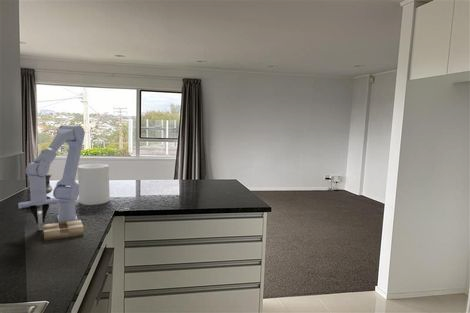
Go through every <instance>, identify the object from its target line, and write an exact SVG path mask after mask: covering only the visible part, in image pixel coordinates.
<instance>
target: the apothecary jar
mask: <svg viewBox="0 0 470 313" xmlns="http://www.w3.org/2000/svg"><path fill="white" fill-rule="evenodd" d="M26 176H27V178H28V175H27V174H26ZM45 177H46V194H47V199H52V198H51V197H50V196H48V194H50V193H52V192H53V187H52V185H51V183H50V178H51V177H52V172H51V171H50V170H49V171H48V174H47V175H45ZM27 193H28V194H29V195H31V193H30V186H29V187H28V188H27Z"/></svg>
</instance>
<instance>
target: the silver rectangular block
mask: <svg viewBox="0 0 470 313" xmlns="http://www.w3.org/2000/svg"><path fill="white" fill-rule="evenodd" d="M42 215H43V213H42V210H37V216H38V223H37V224H38V231H44V229H43V225H44V223H43V219H42Z"/></svg>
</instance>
